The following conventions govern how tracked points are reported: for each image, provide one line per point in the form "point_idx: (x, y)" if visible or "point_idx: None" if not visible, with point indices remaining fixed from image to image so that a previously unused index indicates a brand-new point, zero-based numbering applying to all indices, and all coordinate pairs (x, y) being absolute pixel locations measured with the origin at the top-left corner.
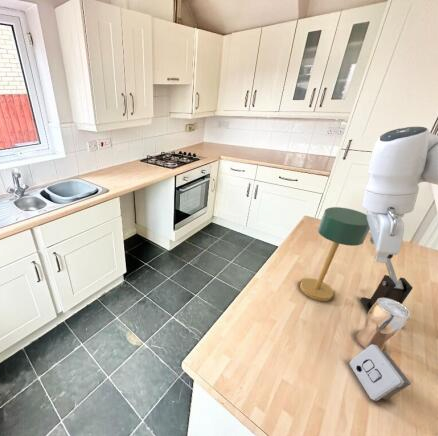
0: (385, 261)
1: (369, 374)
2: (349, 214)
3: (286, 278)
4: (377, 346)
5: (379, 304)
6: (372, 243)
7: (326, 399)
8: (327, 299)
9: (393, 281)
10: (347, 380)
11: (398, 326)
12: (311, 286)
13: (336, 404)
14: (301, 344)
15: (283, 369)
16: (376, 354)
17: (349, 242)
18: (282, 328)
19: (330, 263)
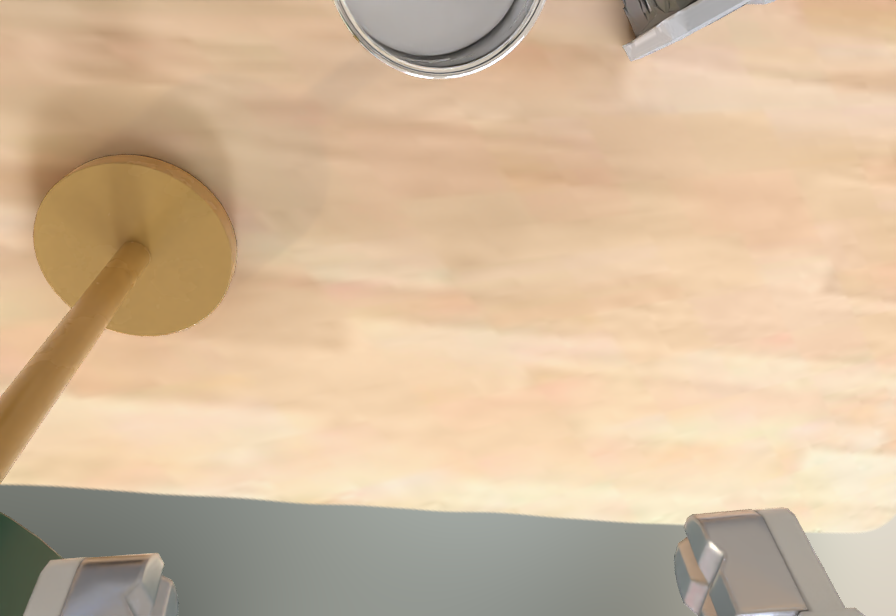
0: (801, 528)
1: (746, 3)
2: None
3: (154, 393)
4: (687, 11)
5: (471, 64)
6: (177, 602)
7: (851, 140)
8: (195, 184)
9: None
10: (726, 63)
11: None
12: (148, 283)
13: (860, 104)
14: (617, 256)
15: (780, 295)
16: (728, 11)
17: None
18: (564, 338)
19: (45, 365)
